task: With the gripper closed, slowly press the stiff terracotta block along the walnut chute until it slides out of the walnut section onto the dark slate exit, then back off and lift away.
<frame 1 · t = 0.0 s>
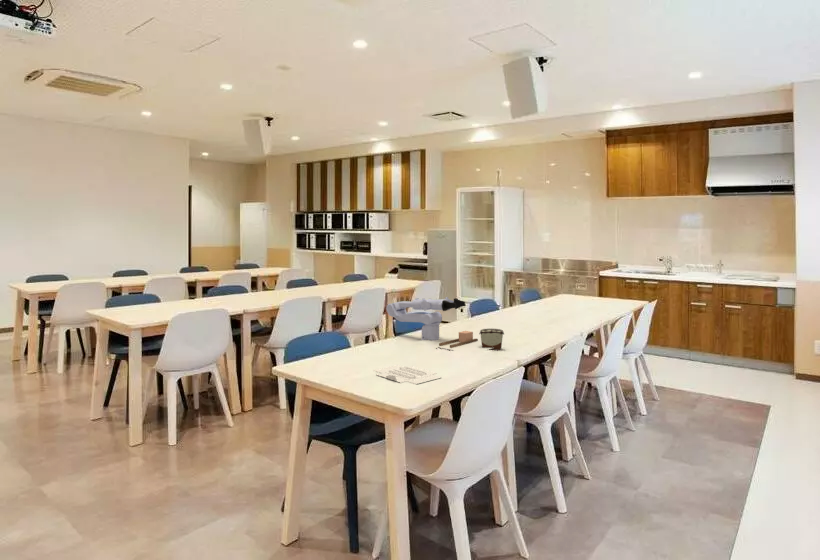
hand: (460, 304, 276), 22 cm above the table, tool horizontal, fingers open, 7 cm apart
chute: (458, 345, 279), on the table
jammed block: (465, 336, 283), point 4 cm above the table, slide at 0.0 cm
white printed sheet: (406, 376, 225), on the table
food container: (491, 349, 271), on the table
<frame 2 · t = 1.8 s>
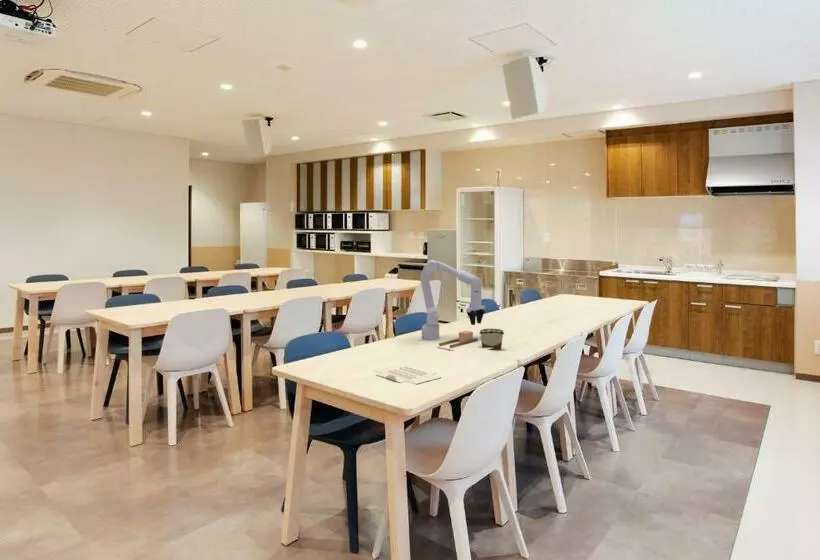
hand: (476, 324, 289), 9 cm above the table, tool pointing down, fingers open, 5 cm apart
nothing on the table moved.
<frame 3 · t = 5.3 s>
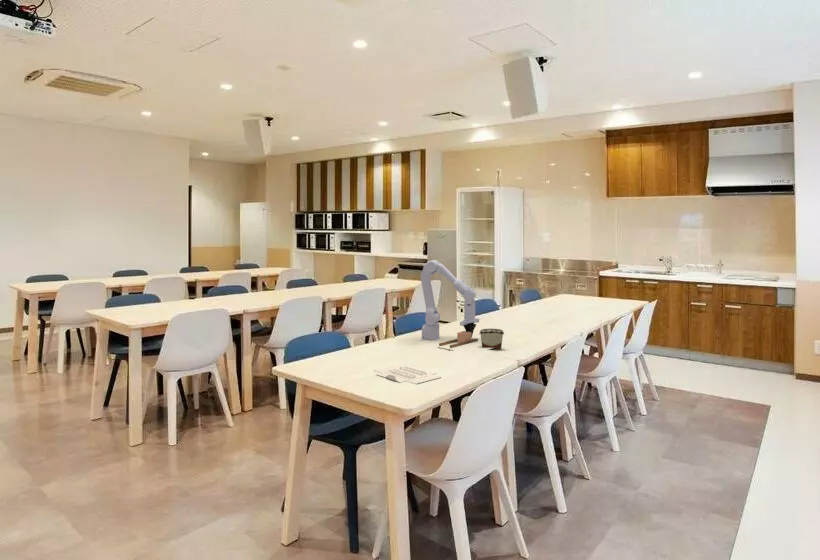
hand: (469, 337, 286), 3 cm above the table, tool pointing down, fingers closed
jammed block: (464, 337, 282), point 4 cm above the table, slide at 1.2 cm, touching gripper
everything else where it was.
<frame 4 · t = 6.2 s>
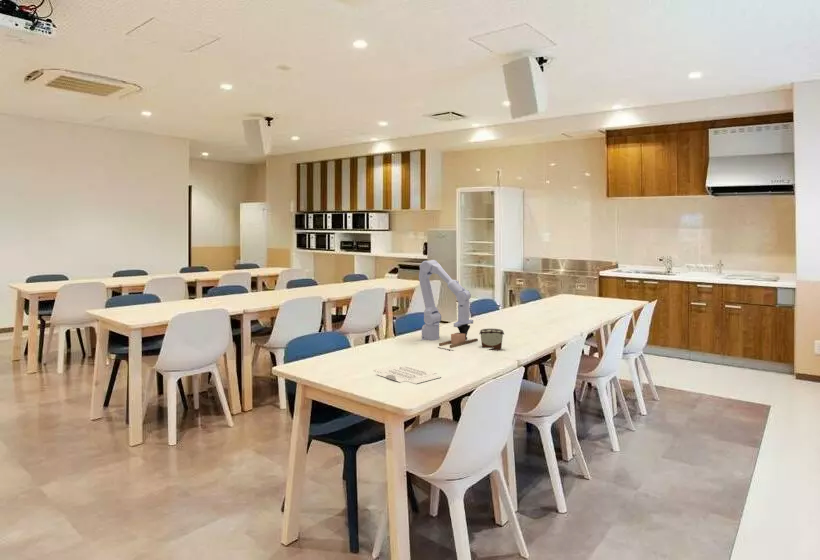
hand: (463, 338, 282), 3 cm above the table, tool pointing down, fingers closed
jammed block: (458, 338, 278), point 4 cm above the table, slide at 6.4 cm, touching gripper
everything else where it was.
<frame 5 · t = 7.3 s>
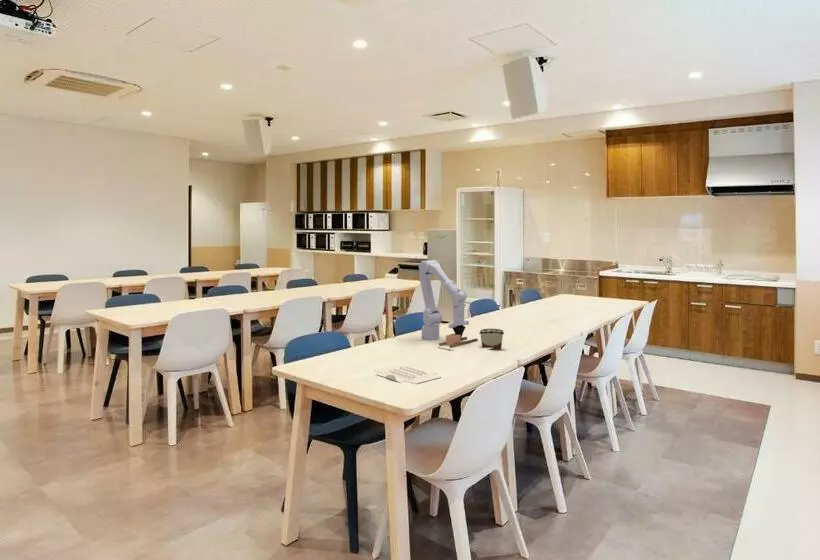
hand: (458, 340, 279), 3 cm above the table, tool pointing down, fingers closed
jammed block: (453, 339, 275), point 4 cm above the table, slide at 10.4 cm, touching gripper
everything else where it was.
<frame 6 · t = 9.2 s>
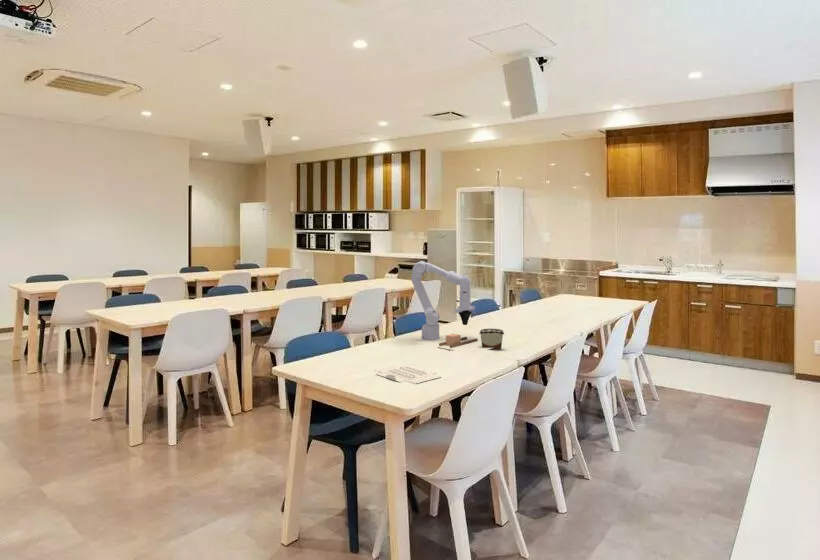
hand: (464, 324, 288), 9 cm above the table, tool pointing down, fingers closed
jammed block: (453, 339, 275), point 4 cm above the table, slide at 10.6 cm
everything else where it was.
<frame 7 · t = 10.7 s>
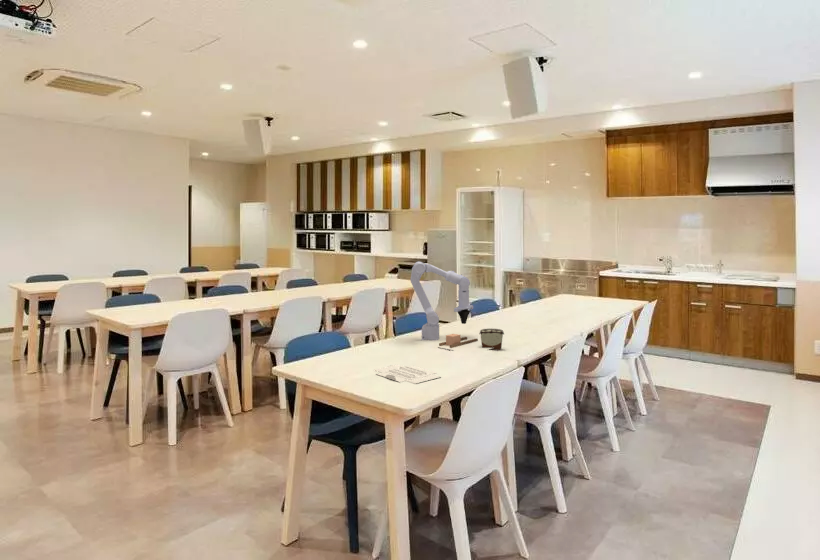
hand: (463, 323, 291), 9 cm above the table, tool pointing down, fingers closed
nothing on the table moved.
at the end: jammed block slide at 10.6 cm; the gripper is holding nothing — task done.
